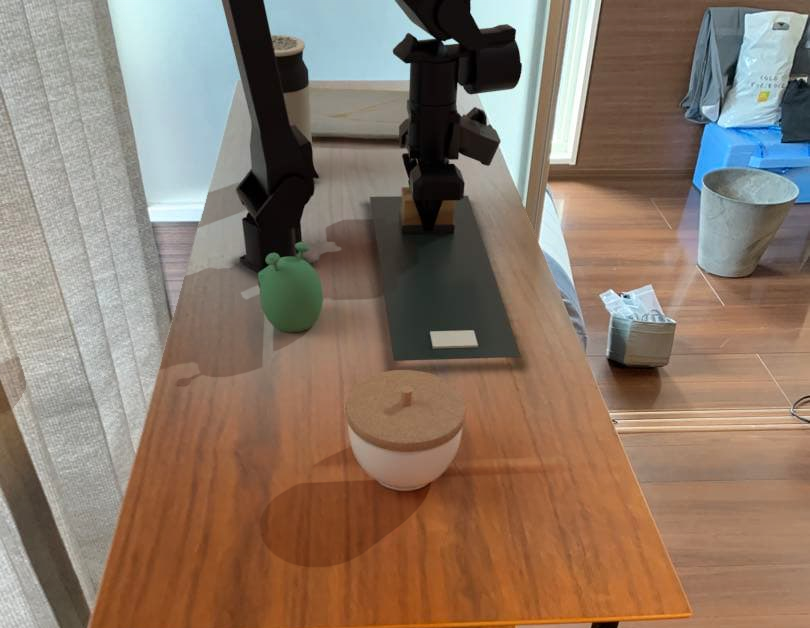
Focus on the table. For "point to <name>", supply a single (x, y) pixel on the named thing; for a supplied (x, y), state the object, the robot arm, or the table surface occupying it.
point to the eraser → (413, 223)
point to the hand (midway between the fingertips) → (426, 223)
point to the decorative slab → (357, 113)
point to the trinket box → (405, 427)
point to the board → (439, 287)
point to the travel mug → (294, 81)
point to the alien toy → (290, 292)
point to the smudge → (453, 339)
